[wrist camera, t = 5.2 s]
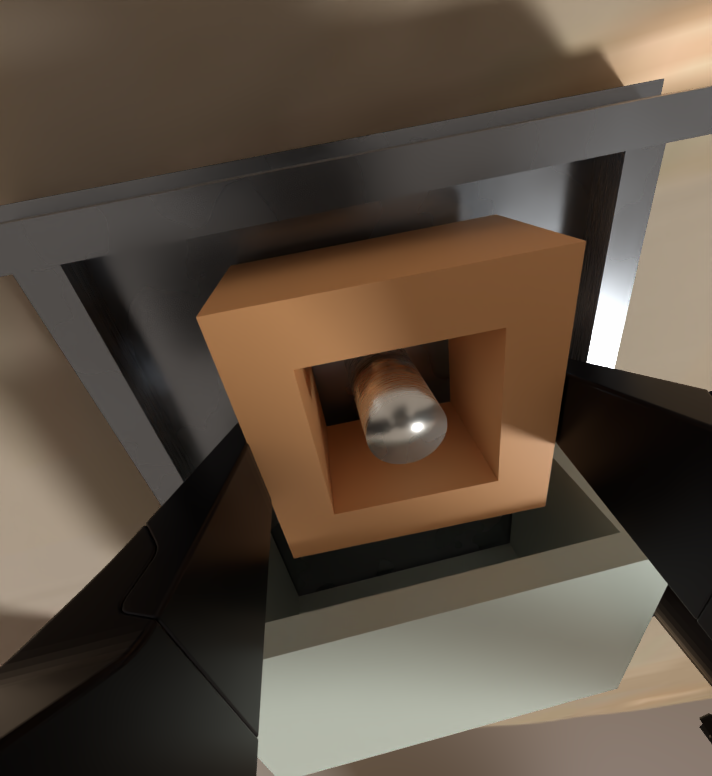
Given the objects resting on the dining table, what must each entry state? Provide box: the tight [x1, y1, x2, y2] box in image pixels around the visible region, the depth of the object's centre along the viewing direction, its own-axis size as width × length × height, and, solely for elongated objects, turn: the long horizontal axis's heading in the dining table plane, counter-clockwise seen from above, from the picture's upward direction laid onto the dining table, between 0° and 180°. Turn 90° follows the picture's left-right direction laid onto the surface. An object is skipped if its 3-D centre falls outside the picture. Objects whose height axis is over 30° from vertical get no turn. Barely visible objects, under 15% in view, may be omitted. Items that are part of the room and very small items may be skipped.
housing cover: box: [257, 442, 668, 776], centre depth 13 cm, size 8×12×6 cm, turn 99°
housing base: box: [0, 79, 712, 596], centre depth 12 cm, size 18×16×5 cm
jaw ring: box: [196, 214, 586, 558], centre depth 10 cm, size 7×7×4 cm
